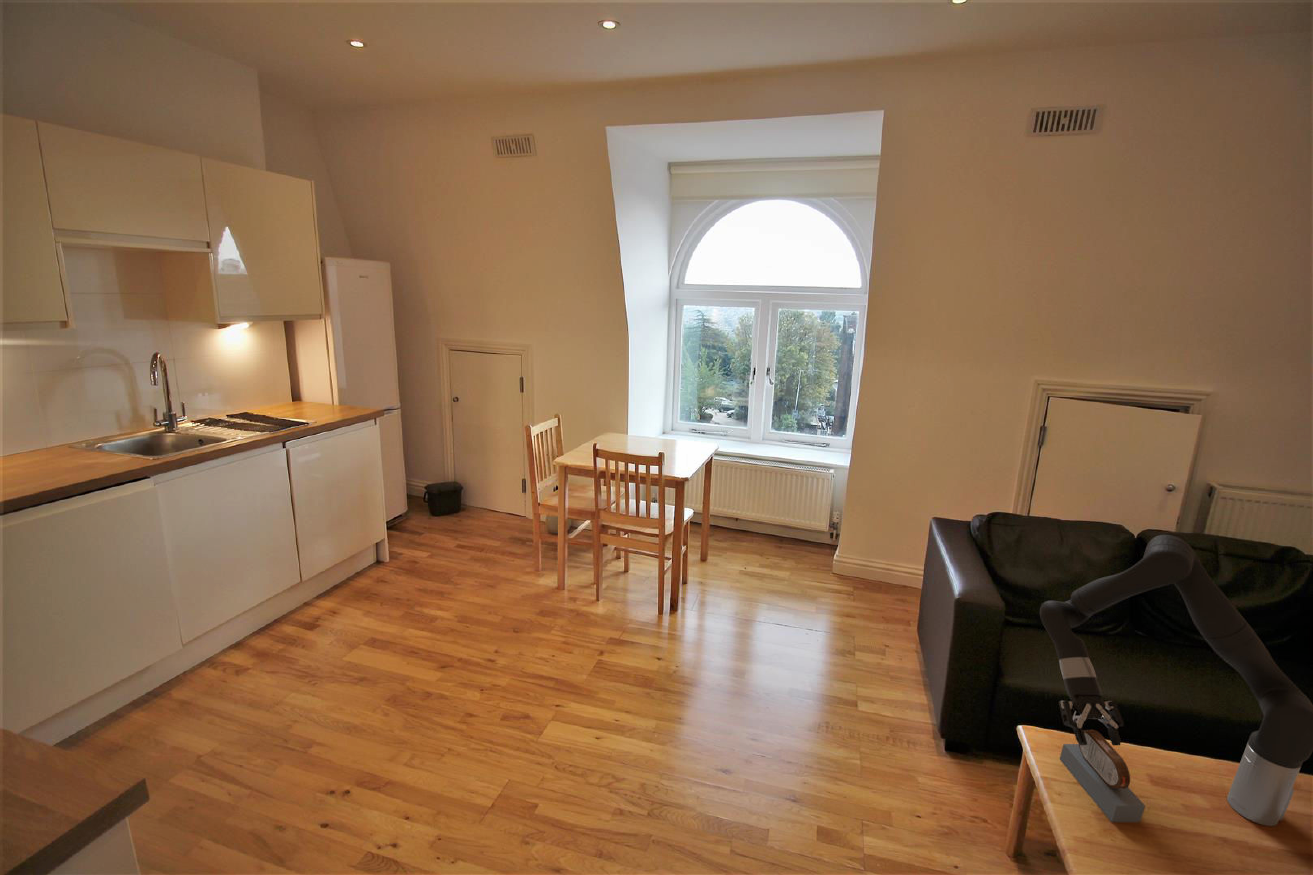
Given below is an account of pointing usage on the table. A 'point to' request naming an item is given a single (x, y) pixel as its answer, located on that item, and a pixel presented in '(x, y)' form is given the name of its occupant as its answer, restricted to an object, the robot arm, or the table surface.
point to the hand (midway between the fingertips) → (1100, 745)
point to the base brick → (1102, 788)
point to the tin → (1105, 760)
